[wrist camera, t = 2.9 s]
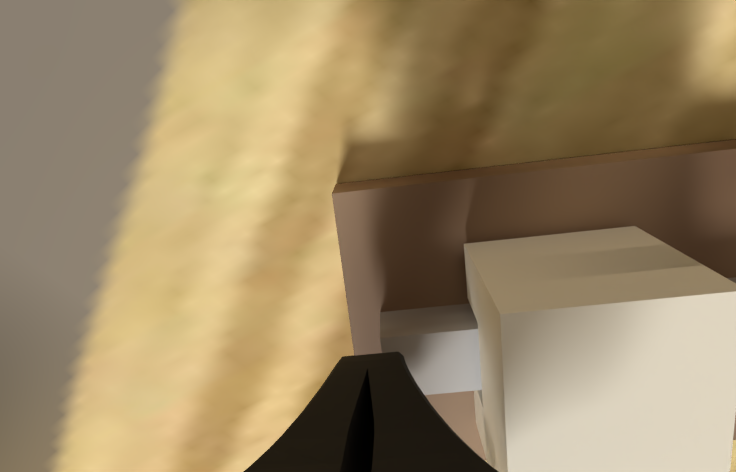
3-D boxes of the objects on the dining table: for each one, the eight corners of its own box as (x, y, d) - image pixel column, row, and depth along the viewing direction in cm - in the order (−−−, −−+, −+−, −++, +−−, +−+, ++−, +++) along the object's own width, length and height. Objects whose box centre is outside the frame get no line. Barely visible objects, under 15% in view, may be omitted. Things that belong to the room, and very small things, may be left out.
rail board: (1070, 102, 13) (1372, 111, 9) (995, 388, 15) (1209, 495, 11) (336, 183, 14) (318, 224, 10) (370, 441, 16) (368, 556, 12)
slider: (634, 225, 12) (747, 290, 8) (629, 408, 14) (724, 533, 10) (464, 243, 12) (500, 314, 9) (475, 421, 14) (511, 548, 10)
